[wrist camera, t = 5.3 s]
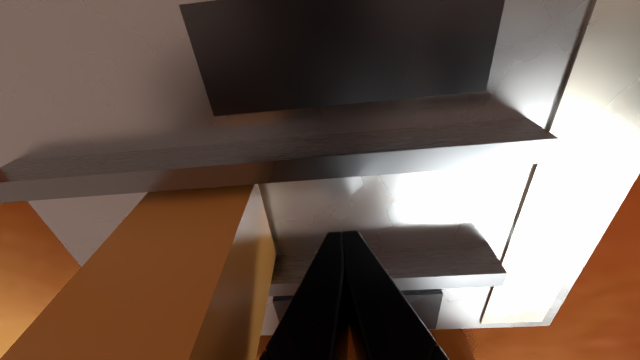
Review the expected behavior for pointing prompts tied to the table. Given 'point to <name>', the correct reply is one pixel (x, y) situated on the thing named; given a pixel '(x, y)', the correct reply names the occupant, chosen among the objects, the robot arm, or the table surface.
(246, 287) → the block
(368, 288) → the robot arm
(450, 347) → the coffee package
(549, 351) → the table surface
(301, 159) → the panel
